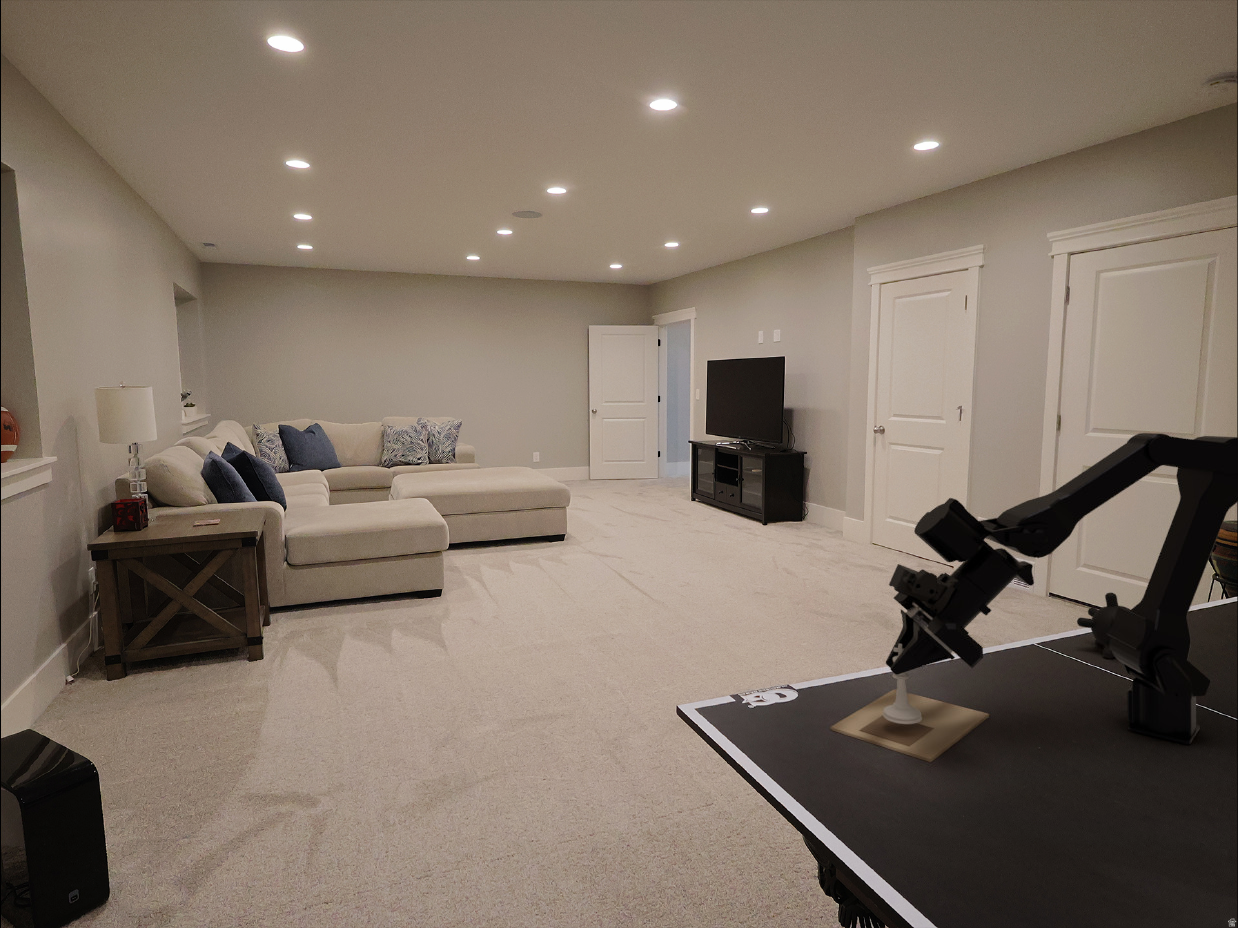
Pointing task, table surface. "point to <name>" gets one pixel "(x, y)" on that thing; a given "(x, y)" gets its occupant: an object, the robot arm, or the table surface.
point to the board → (912, 726)
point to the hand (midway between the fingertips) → (890, 668)
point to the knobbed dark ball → (1102, 623)
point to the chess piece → (901, 700)
